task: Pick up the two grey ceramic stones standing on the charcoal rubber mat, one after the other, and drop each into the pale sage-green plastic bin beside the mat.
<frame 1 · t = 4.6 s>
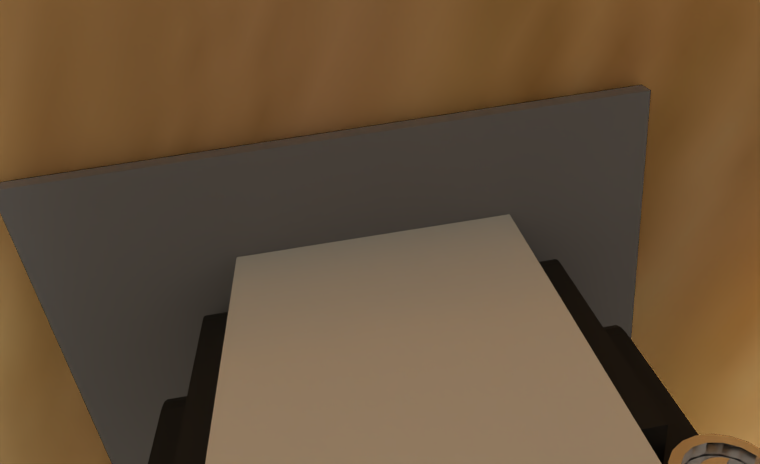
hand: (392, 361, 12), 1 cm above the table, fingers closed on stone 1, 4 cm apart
stone 1: (389, 343, 12), resting on mat, touching gripper
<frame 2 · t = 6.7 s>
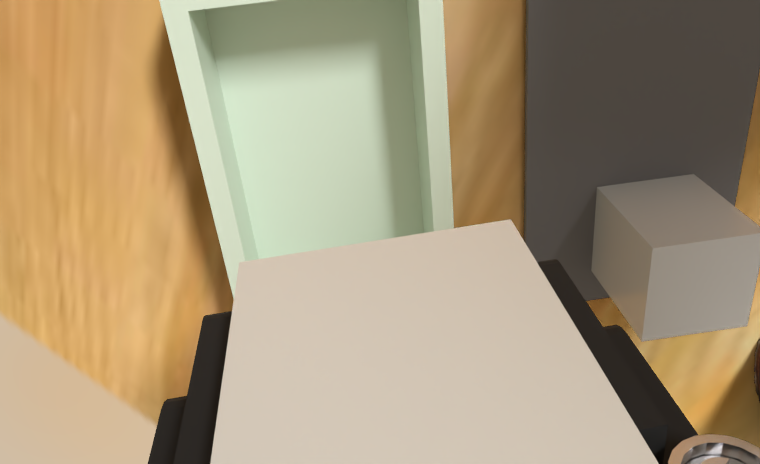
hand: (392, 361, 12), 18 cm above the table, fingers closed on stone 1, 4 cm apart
stone 1: (391, 348, 12), point 17 cm above the table, touching gripper
mat: (634, 153, 30), on the table
stone 2: (640, 223, 32), resting on mat
bin: (326, 140, 28), on the table
when the fingers open (4 cm above the table, at t = 8.6 s): stone 1 drops 3 cm, resting on bin.
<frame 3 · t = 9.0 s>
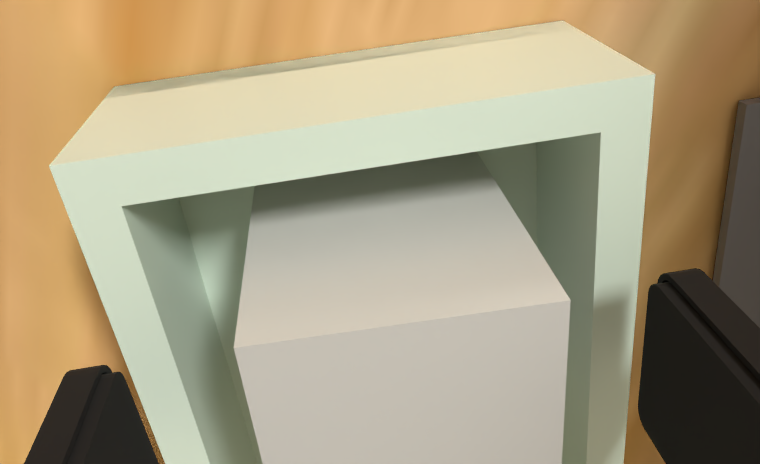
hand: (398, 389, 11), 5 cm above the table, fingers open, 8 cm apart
stone 1: (376, 257, 15), point 1 cm above the table, touching bin
bin: (383, 342, 17), on the table
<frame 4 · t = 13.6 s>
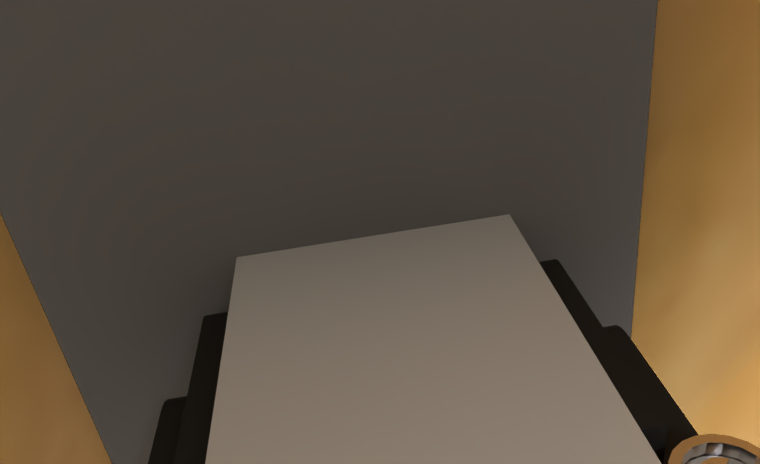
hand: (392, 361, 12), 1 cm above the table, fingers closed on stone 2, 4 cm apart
mat: (331, 162, 11), on the table
stone 2: (389, 343, 12), resting on mat, touching gripper
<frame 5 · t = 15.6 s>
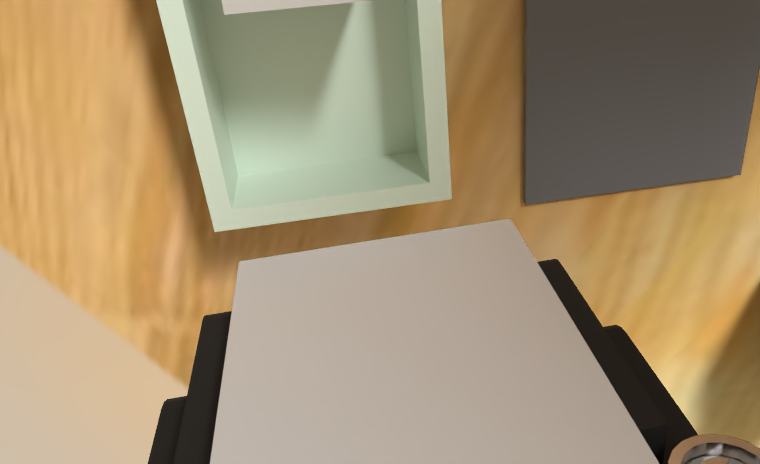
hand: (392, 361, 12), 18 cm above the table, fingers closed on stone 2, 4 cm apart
mat: (646, 19, 27), on the table
stone 2: (391, 347, 12), point 17 cm above the table, touching gripper
when the fingers open (4 cm above the table, at t = 17.5 s): stone 2 drops 3 cm, resting on bin.
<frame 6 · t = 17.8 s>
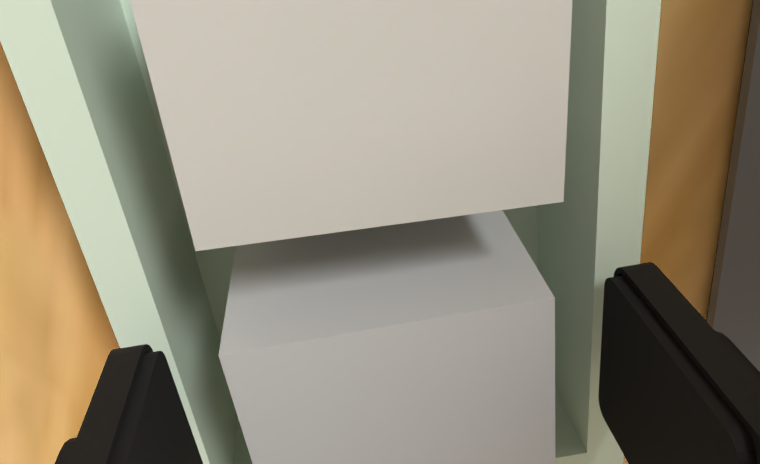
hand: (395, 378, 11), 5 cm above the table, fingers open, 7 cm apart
stone 2: (370, 258, 15), point 1 cm above the table, touching bin
bin: (350, 115, 14), on the table
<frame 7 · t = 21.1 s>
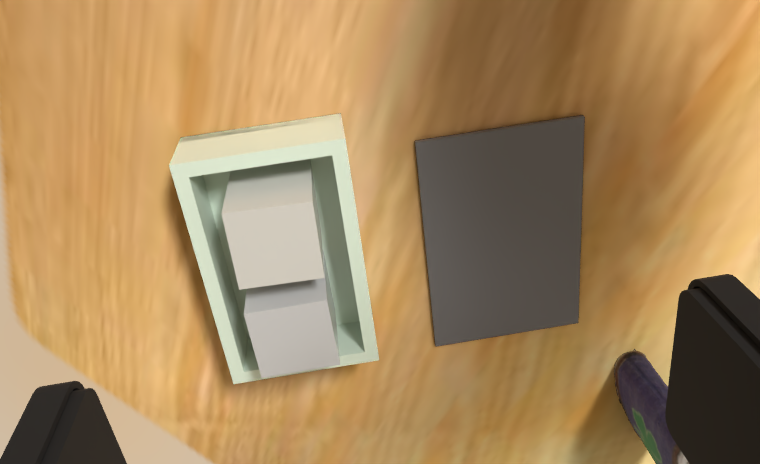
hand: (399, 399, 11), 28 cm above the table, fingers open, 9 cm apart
stone 1: (277, 200, 39), point 1 cm above the table, touching bin
mat: (502, 238, 43), on the table
stone 2: (293, 286, 42), point 1 cm above the table, touching bin
flask: (637, 392, 51), on the table
bin: (285, 237, 41), on the table
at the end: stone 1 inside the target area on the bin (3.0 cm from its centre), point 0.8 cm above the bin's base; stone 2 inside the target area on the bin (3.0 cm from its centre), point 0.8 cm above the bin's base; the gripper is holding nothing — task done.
